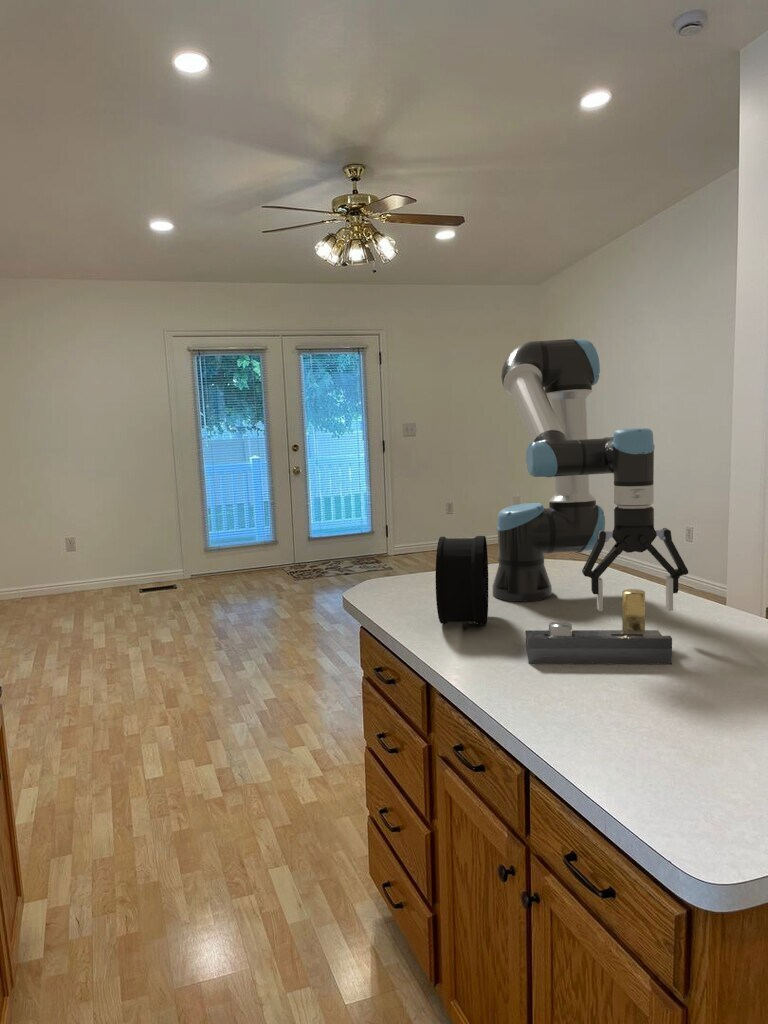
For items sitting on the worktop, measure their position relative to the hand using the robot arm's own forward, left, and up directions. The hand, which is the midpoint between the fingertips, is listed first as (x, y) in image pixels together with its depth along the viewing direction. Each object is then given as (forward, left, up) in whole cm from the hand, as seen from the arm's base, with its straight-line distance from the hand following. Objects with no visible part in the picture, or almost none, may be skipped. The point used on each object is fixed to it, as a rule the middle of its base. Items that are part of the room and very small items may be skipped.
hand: (634, 609), depth 143 cm
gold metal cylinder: (0, 0, -6) cm, 6 cm away
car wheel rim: (-12, -35, -7) cm, 38 cm away
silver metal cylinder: (+9, -16, -7) cm, 19 cm away
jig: (+9, -9, -6) cm, 14 cm away
